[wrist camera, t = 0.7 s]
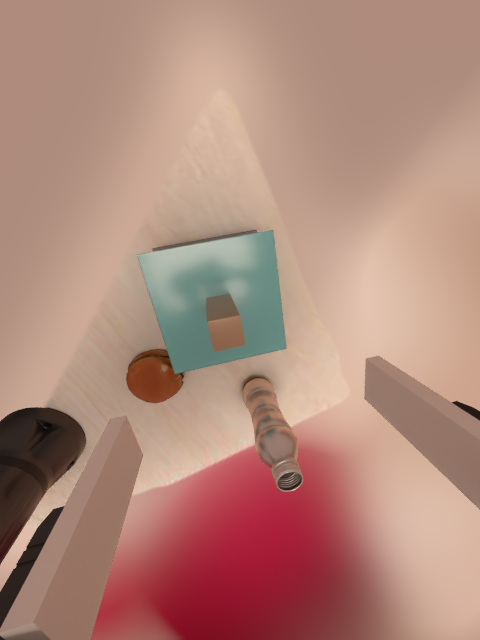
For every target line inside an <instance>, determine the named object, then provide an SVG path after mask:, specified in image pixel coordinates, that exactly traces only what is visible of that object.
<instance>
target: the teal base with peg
mask: <svg viewBox="0 0 480 640" xmlns="http://www.w3.org/2000/svg"><path fill="white" fill-rule="evenodd" d="M137 257H138V260H139V264H140V267H141V270H142V273H143V276H144V279H145V282H146V285H147V289H148V292H149V295H150V298H151V301H152V304H153V307H154V310H155V314H156V317H157V320H158V323H159V326H160V329H161V332H162V335H163V339H164V342H165V345H166V348H167V351H168V354H169V357H170V360H171V364H172V367H173V370H174V373H175V374H177V373H182V372H186V371H190V370H195V369H199V368H204V367H208V366H212V365H217V364H221V363H225V362H230V361H234V360H238V359H243V358H247V357H252V356H256V355H260V354H265V353H269V352H273V351H278V350H282V349H286V340H285V331H284V322H283V314H282V305H281V296H280V287H279V278H278V269H277V260H276V251H275V242H274V233H273V230H270V231H264V232H259V233H253V234H248V235H242V236H237V237H231V238H226V239H221V240H215V241H210V242H204V243H199V244H193V245H188V246H182V247H177V248H172V249H166V250H161V251H155V252H150V253H144V254H139V255H137Z"/></svg>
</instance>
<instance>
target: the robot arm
mask: <svg viewBox="0 0 480 640" xmlns="http://www.w3.org/2000/svg"><path fill="white" fill-rule="evenodd" d="M365 400H367V401H368V402H369V403H370V404H371V405H372V406H373V407H374V408H375V409H376V410H377V411H378V412H379V413H380V414H381V415H382V416H383V417H384V418H385V419H386V420H387V421H388V422H389V423H390V424H391V425H393V426H394V427H395V428H396V429H397V430H398V431H399V432H400V433H401V434H402V435H403V436H404V437H405V438H406V439H407V440H408V441H409V442H410V443H411V444H412V445H413V446H414V447H415V448H416V449H417V450H418V451H420V452H421V453H422V454H423V455H424V456H425V457H426V458H427V459H428V460H429V461H430V462H431V463H432V464H433V465H434V466H435V467H436V468H437V469H438V470H439V471H440V472H441V473H442V474H443V475H444V476H446V477H447V478H448V479H449V480H450V481H451V482H452V483H453V484H454V485H455V486H456V487H457V488H458V489H459V490H460V491H461V492H462V493H463V494H464V495H465V496H466V497H467V498H468V499H469V500H470V501H471V502H472V503H474V504H475V505H476V506H477V507H478V508H479V509H480V411H478V410H477V409H475V408H473V407H470V406H468V405H465V404H463V403H460V402H458V401H455V402H452V403H451V402H450V401H448V400H446V399H445V398H443V397H442V396H440V395H439V394H437V393H436V392H434V391H433V390H431V389H429V388H428V387H426V386H425V385H423V384H422V383H420V382H418V381H417V380H415V379H414V378H412V377H411V376H409V375H408V374H406V373H405V372H403V371H401V370H400V369H398V368H397V367H395V366H394V365H392V364H390V363H389V362H387V361H386V360H384V359H383V358H381V357H380V356H376V357H372V358H367V359H366V369H365ZM84 447H85V435H84V432H83V430H82V429H81V427H80V426H79V424H78V423H77V422H76V421H74V420H73V419H72V418H71V417H69V416H67V415H66V414H64V413H61V412H59V411H56V410H52V409H47V408H25V409H21V410H18V411H15V412H13V413H11V414H9V415H7V416H6V417H5V418H4V419H3V420H1V421H0V564H1V562H2V561H3V559H4V558H5V556H6V554H7V553H8V551H9V549H10V548H11V546H12V545H13V543H14V542H15V540H16V539H17V537H18V535H19V534H20V532H21V531H22V529H23V527H24V526H25V524H26V523H27V521H28V520H29V518H30V516H31V515H32V513H33V512H34V510H35V509H36V507H37V505H38V504H39V502H40V500H41V499H42V497H43V496H44V494H45V493H46V491H47V490H48V489H49V488H50V487H51V486H52V485H53V484H54V483H55V482H56V481H57V480H58V479H60V478H61V477H62V476H63V475H64V474H65V473H66V472H67V471H68V470H69V469H70V468H71V467H72V466H73V465H74V464H75V463H76V461H77V460H78V458H79V457H80V455H81V453H82V451H83V449H84ZM142 457H143V454H142V452H141V449H140V447H139V445H138V442H137V440H136V438H135V435H134V433H133V431H132V428H131V426H130V424H129V421H128V419H127V417H126V416H123V417H118V418H114V419H110V421H109V423H108V425H107V427H106V429H105V431H104V433H103V435H102V437H101V438H100V440H99V442H98V444H97V446H96V448H95V450H94V452H93V454H92V455H91V457H90V459H89V461H88V463H87V465H86V467H85V469H84V471H83V473H82V474H81V476H80V478H79V480H78V482H77V484H76V486H75V488H74V490H73V491H72V493H71V495H70V497H69V499H68V501H67V503H66V505H65V506H64V507H60V508H56V509H53V510H52V512H51V513H50V514H49V515H48V516H47V517H46V519H45V520H44V521H43V522H42V523H41V524H40V526H39V527H38V528H37V530H36V532H35V533H34V535H33V537H32V539H31V540H30V542H29V544H28V546H27V549H26V551H24V552H23V554H22V556H21V558H20V559H19V561H18V563H17V567H16V568H15V569H13V571H12V573H11V575H10V576H9V578H8V580H7V581H6V583H5V585H4V587H3V588H2V590H1V592H0V640H90V638H91V635H92V631H93V628H94V625H95V621H96V617H97V614H98V610H99V607H100V603H101V600H102V596H103V593H104V589H105V586H106V582H107V579H108V576H109V572H110V569H111V565H112V562H113V558H114V555H115V551H116V548H117V544H118V541H119V537H120V534H121V530H122V526H123V523H124V519H125V516H126V513H127V509H128V505H129V502H130V499H131V495H132V492H133V488H134V485H135V481H136V478H137V474H138V471H139V467H140V464H141V460H142Z"/></svg>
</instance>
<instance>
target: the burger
mask: <svg viewBox="0 0 480 640" xmlns="http://www.w3.org/2000/svg"><path fill="white" fill-rule="evenodd" d="M183 377H184V375H183V374H182V373H177V374H175V373H174V370H173V367H172V364H171V360H170V357H169V354H168V351H165V350H158V349H157V350H150V351H147V352H145V353H142V354H141V355H139V356H137V358H136V359H134V360H133V361H132V362H131V363H130V364H129V367H128V373H127V378H126V380H127V385H128V388H129V390H130V391H131V392H132V393H133V394H134V395H135V396H136V397H138V398H139V399H141V400H143V401H146V402H150V403H159V402H163V401H165V400H167V399H169V398H170V397H172V396H173V395H175V394H176V393H177V392H178V391H179V390H180V388H181V387H182V385H183V381H182V379H183Z"/></svg>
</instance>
